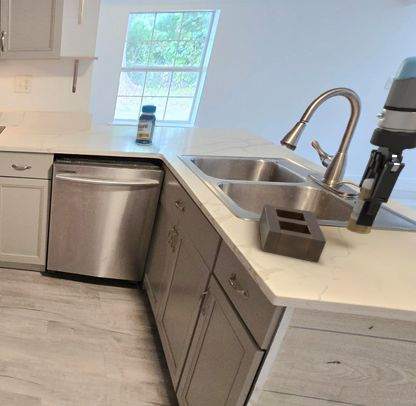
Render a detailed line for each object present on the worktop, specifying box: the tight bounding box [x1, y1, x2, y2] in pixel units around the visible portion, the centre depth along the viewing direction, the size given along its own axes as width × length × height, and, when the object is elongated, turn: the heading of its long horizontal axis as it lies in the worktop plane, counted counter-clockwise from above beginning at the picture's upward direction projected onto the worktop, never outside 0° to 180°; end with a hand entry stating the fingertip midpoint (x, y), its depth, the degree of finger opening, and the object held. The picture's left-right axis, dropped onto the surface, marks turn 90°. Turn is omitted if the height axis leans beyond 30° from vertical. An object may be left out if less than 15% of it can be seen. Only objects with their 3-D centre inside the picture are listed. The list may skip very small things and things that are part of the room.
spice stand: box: [258, 203, 327, 263], centre depth 98 cm, size 11×20×6 cm, turn 147°
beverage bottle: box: [135, 104, 157, 146], centre depth 193 cm, size 8×8×20 cm
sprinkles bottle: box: [345, 179, 383, 235], centre depth 90 cm, size 5×5×13 cm
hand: (360, 221), depth 92 cm, fingers closed on sprinkles bottle, 4 cm apart
